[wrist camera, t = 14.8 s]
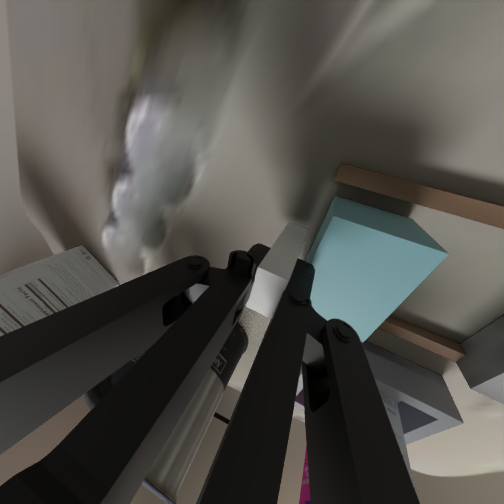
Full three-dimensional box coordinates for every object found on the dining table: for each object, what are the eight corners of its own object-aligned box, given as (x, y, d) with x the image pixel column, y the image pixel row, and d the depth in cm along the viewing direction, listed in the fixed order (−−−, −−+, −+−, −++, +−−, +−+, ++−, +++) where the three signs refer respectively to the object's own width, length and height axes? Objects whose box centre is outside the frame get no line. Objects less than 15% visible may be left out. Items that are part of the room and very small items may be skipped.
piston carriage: (334, 195, 13) (333, 215, 9) (411, 218, 12) (448, 253, 8) (300, 270, 17) (288, 308, 13) (356, 293, 16) (363, 342, 12)
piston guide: (340, 163, 12) (341, 166, 10) (677, 251, 9) (805, 289, 6) (289, 282, 18) (282, 302, 16) (478, 363, 15) (505, 404, 12)
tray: (321, 320, 19) (318, 350, 16) (442, 376, 17) (463, 423, 14) (288, 370, 25) (282, 398, 22) (373, 416, 23) (378, 454, 20)
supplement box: (107, 299, 38) (-22, 383, 24) (74, 265, 37) (-83, 333, 23) (120, 283, 33) (-36, 380, 19) (82, 242, 31) (-117, 314, 18)
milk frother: (258, 332, 24) (177, 515, 12) (230, 378, 33) (168, 509, 21) (170, 279, 26) (27, 389, 14) (166, 336, 35) (77, 432, 23)
